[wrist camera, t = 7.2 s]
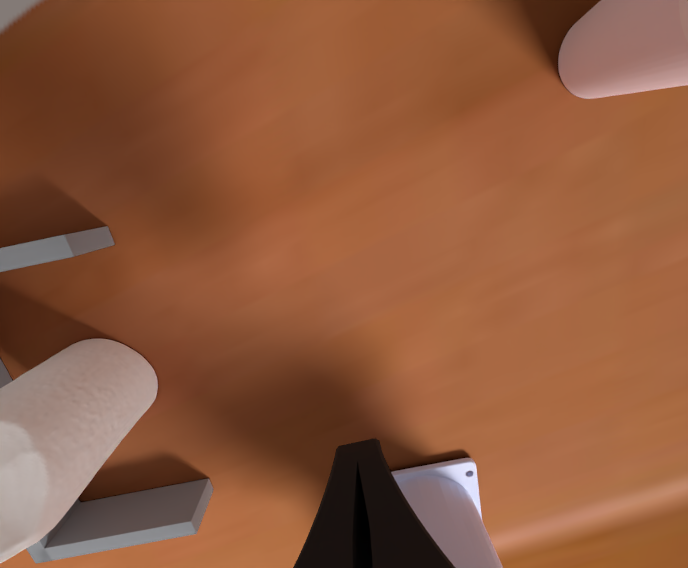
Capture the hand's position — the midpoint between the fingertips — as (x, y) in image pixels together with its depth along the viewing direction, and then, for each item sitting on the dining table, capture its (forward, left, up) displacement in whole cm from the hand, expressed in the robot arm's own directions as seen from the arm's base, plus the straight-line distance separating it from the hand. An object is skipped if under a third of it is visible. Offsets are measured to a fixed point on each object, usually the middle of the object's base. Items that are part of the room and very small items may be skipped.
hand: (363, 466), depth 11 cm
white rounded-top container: (0, +15, -10) cm, 17 cm away
